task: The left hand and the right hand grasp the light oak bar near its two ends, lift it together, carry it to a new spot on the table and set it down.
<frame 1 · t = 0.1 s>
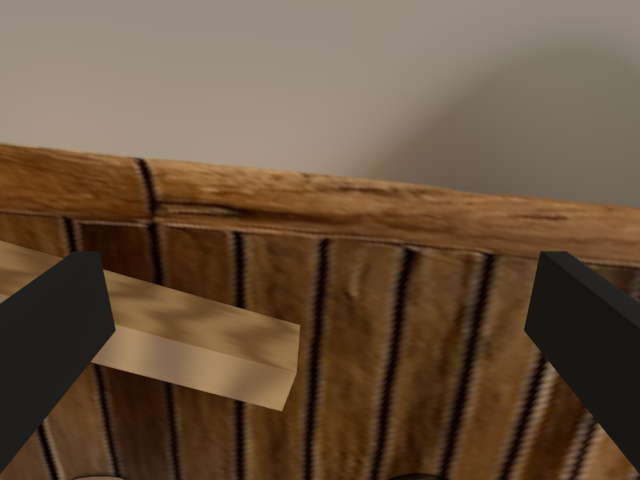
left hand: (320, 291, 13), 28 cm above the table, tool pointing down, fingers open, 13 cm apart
bar: (48, 273, 43), on the table
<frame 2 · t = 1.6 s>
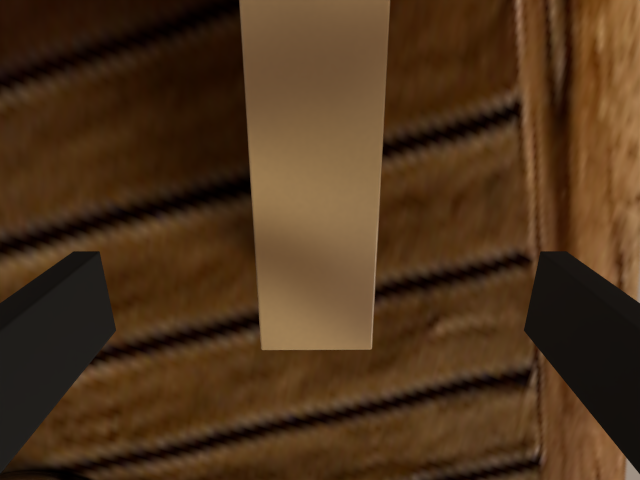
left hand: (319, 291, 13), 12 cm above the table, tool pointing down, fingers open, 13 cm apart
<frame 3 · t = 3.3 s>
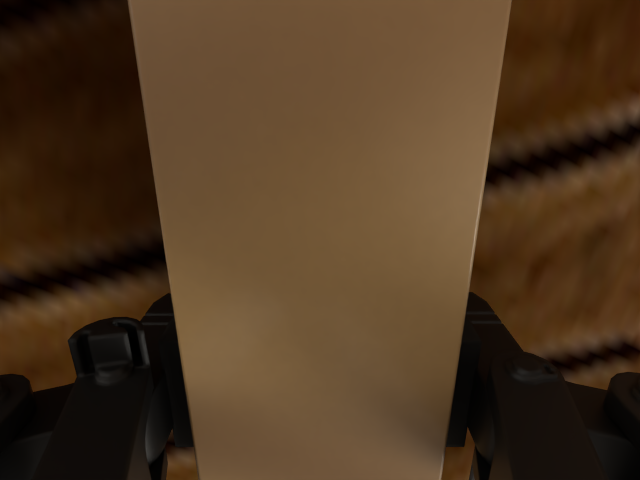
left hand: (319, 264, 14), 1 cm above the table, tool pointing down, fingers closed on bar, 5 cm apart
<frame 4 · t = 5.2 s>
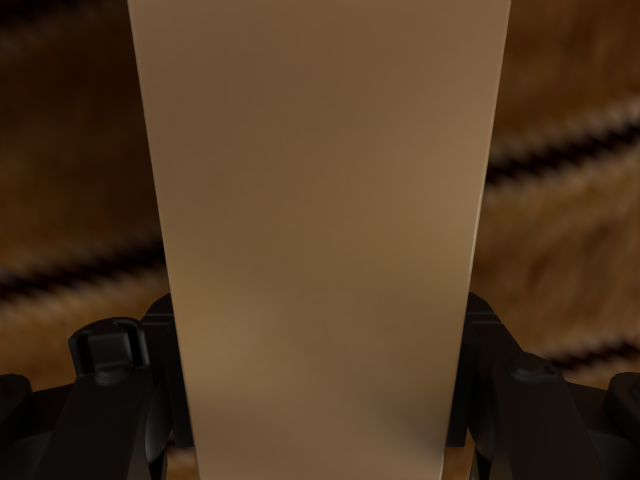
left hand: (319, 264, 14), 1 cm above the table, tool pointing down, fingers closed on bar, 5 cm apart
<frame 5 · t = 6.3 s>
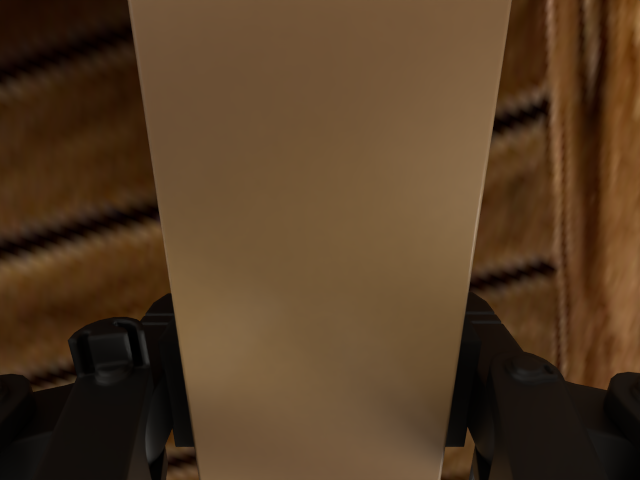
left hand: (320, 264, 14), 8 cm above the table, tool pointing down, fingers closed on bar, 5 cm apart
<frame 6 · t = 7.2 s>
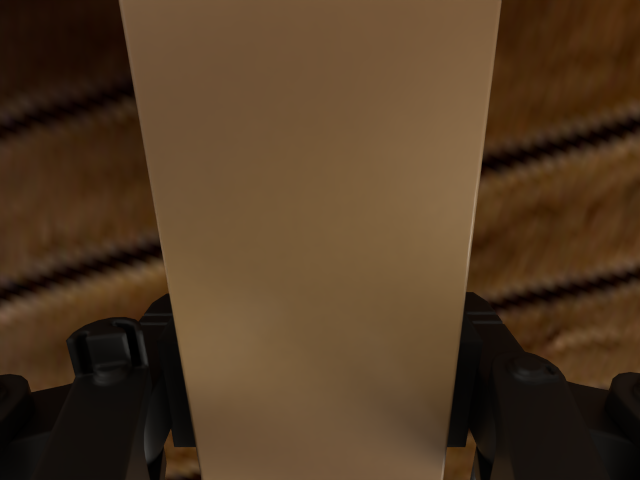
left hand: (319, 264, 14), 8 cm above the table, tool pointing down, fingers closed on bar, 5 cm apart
when the left hand's fingers open (2 cm above the table, at t = 9.3 s): bar drops 1 cm, on the table.
when the right hand's fingers open (2 cm above the table, at t = 9.3 s): bar drops 1 cm, on the table.
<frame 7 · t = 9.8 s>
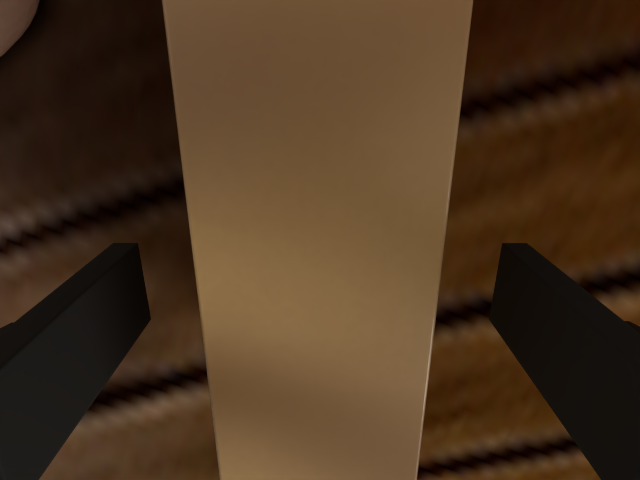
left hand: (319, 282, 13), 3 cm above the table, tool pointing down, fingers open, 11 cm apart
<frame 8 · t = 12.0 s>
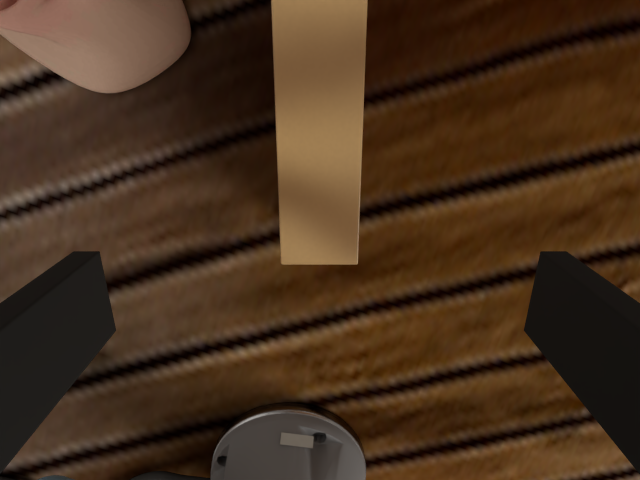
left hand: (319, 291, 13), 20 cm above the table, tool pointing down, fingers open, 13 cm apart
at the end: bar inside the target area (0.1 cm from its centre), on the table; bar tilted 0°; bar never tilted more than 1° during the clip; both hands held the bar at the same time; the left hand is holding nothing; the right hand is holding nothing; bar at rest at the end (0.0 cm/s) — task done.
